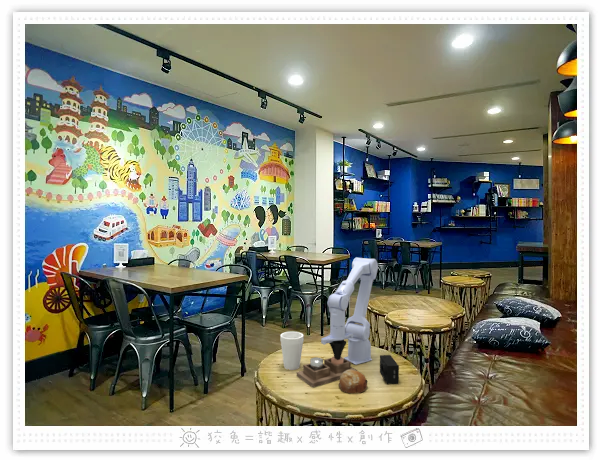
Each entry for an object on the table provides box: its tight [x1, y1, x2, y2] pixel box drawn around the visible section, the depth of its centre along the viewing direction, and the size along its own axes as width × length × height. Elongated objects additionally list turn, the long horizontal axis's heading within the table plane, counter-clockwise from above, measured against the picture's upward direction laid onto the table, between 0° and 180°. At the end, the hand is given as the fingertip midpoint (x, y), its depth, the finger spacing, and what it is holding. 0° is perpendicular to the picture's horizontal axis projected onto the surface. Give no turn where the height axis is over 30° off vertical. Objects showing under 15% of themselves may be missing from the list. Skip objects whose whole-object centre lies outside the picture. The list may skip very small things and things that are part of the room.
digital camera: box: [379, 354, 400, 385], centre depth 134 cm, size 10×5×7 cm, turn 3°
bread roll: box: [338, 369, 369, 394], centre depth 127 cm, size 10×10×8 cm
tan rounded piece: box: [330, 356, 344, 365], centre depth 139 cm, size 5×5×3 cm
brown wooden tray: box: [296, 357, 358, 389], centre depth 137 cm, size 21×11×4 cm, turn 123°
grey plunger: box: [309, 357, 324, 370], centre depth 134 cm, size 5×5×3 cm
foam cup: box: [279, 331, 305, 371], centre depth 144 cm, size 10×9×13 cm
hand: (337, 358), depth 139 cm, fingers closed, pressing on tan rounded piece
